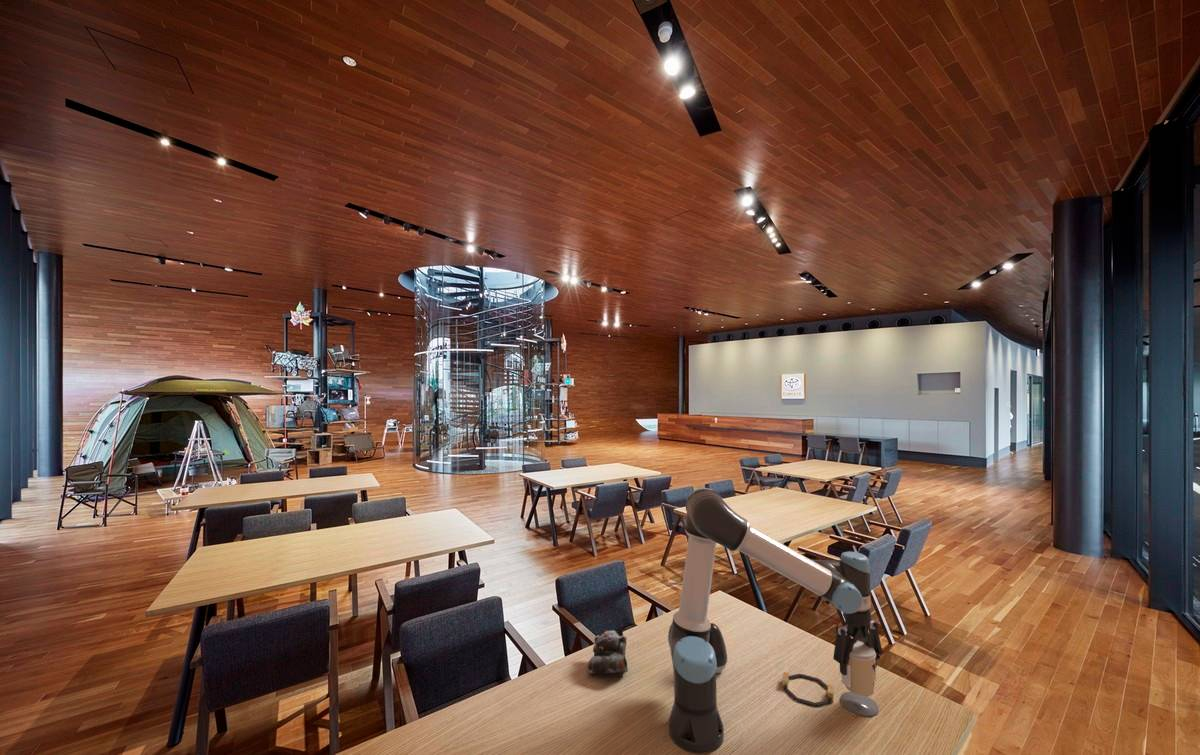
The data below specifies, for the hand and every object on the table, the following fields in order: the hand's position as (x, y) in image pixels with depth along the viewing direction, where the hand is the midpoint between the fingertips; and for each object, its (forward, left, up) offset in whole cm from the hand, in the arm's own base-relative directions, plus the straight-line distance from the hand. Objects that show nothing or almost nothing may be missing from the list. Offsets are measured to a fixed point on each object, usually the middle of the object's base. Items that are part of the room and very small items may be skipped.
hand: (858, 681), depth 138 cm
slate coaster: (0, 0, -7) cm, 7 cm away
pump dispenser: (-33, +29, -7) cm, 45 cm away
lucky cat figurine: (-67, +39, -7) cm, 78 cm away
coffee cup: (0, 0, -2) cm, 2 cm away
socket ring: (-10, +10, -7) cm, 16 cm away
